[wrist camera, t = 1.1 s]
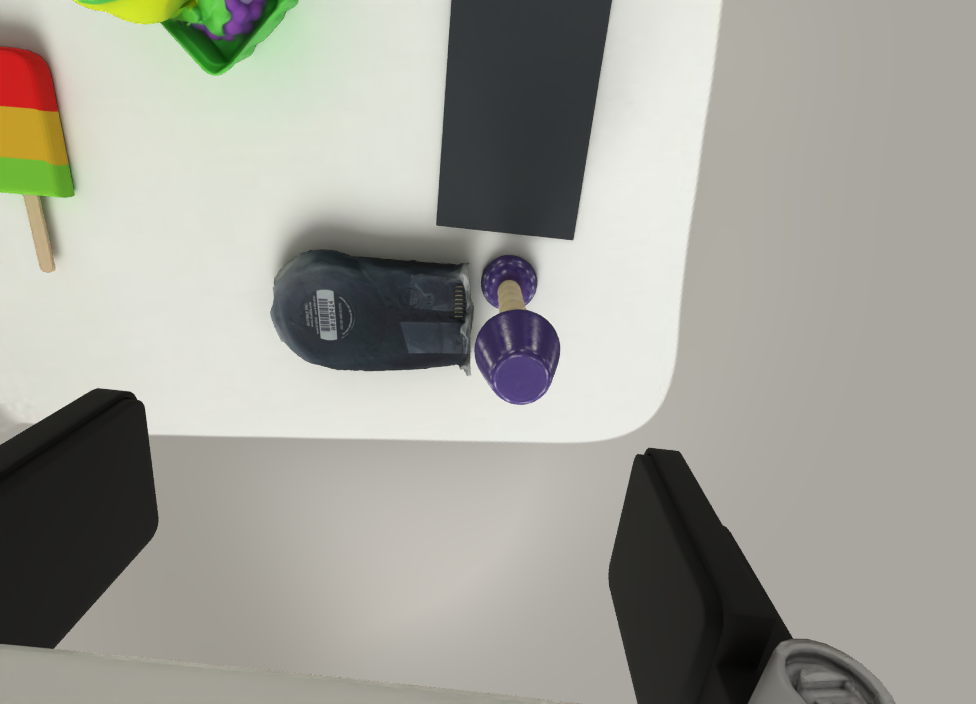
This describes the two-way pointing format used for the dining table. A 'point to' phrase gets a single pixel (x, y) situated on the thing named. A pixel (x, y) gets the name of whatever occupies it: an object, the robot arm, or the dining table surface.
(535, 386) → the toy lamp
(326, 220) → the dining table surface
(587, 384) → the dining table surface
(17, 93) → the popsicle
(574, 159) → the mat
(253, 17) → the fruit basket
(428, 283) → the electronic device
